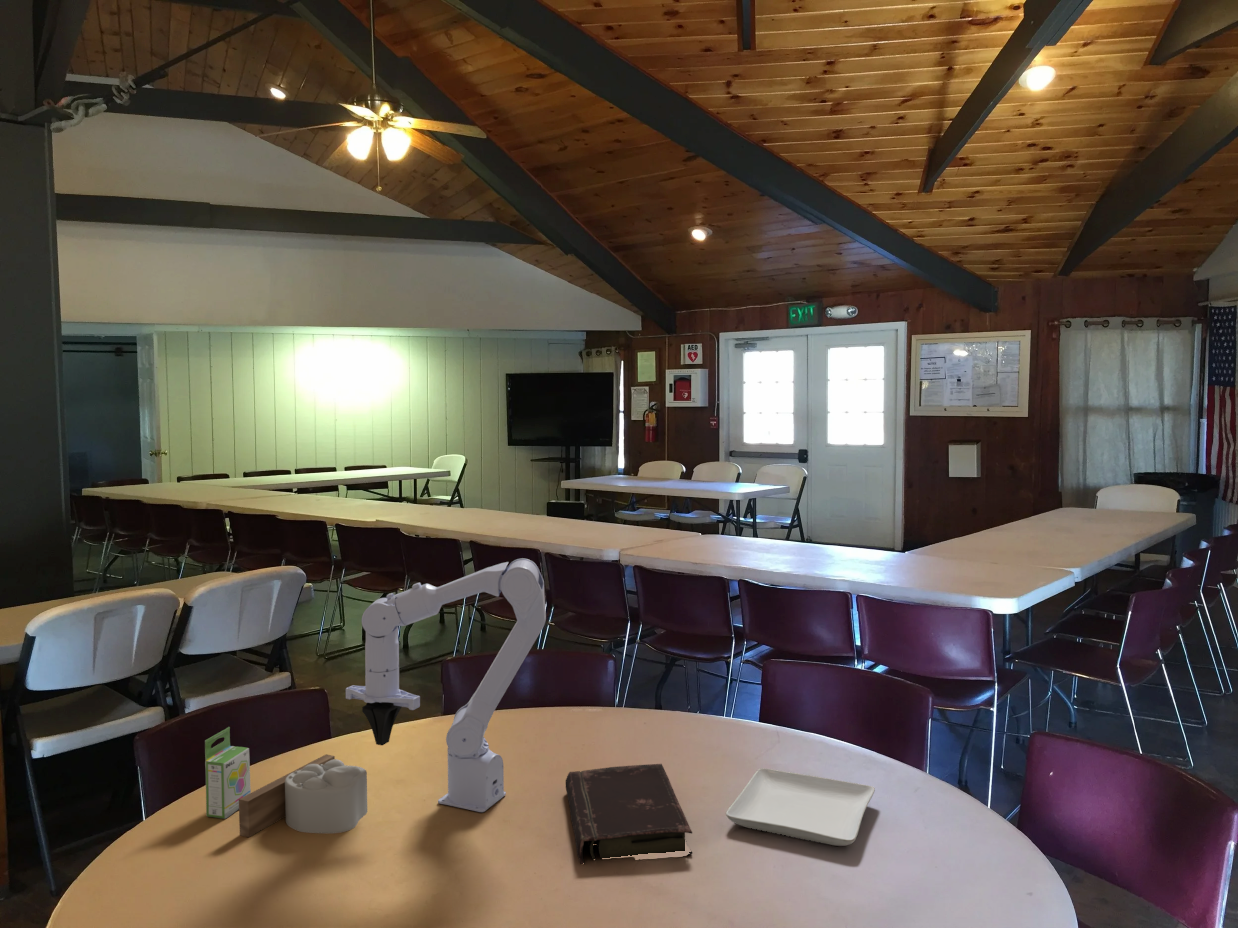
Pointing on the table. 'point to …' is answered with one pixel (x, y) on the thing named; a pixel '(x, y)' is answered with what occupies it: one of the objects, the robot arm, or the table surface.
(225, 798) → the ink box
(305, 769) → the lumpy-topped squat cylinder
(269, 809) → the walnut board
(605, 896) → the table surface
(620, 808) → the diary
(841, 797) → the salad plate
